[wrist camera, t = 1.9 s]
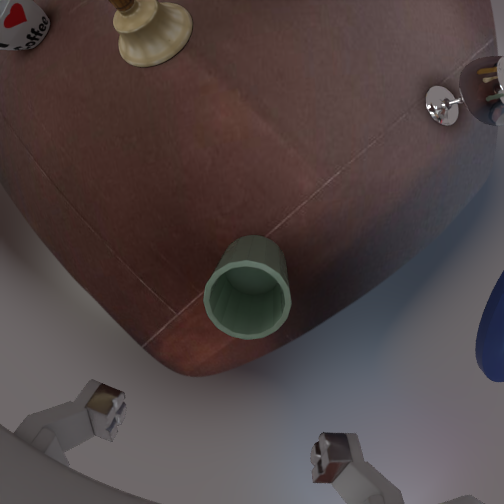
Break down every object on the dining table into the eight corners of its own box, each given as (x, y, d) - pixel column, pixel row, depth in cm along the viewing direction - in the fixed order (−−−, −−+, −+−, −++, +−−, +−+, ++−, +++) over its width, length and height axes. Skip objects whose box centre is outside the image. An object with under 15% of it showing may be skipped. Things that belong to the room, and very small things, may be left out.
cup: (26, 69, 23) (-26, 57, 14) (13, 42, 22) (-32, 29, 12) (65, 22, 22) (17, -2, 12) (49, 0, 20) (7, -22, 11)
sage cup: (293, 242, 28) (300, 271, 20) (277, 302, 30) (278, 346, 22) (227, 228, 28) (211, 252, 20) (216, 288, 30) (198, 328, 22)
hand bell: (139, 1, 21) (64, -71, 6) (205, 8, 22) (154, -91, 6) (108, 62, 24) (5, 15, 8) (173, 73, 24) (82, 2, 9)
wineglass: (416, 119, 23) (490, 100, 12) (422, 71, 22) (489, 35, 10) (459, 140, 23) (537, 137, 12) (464, 94, 22) (536, 75, 10)
